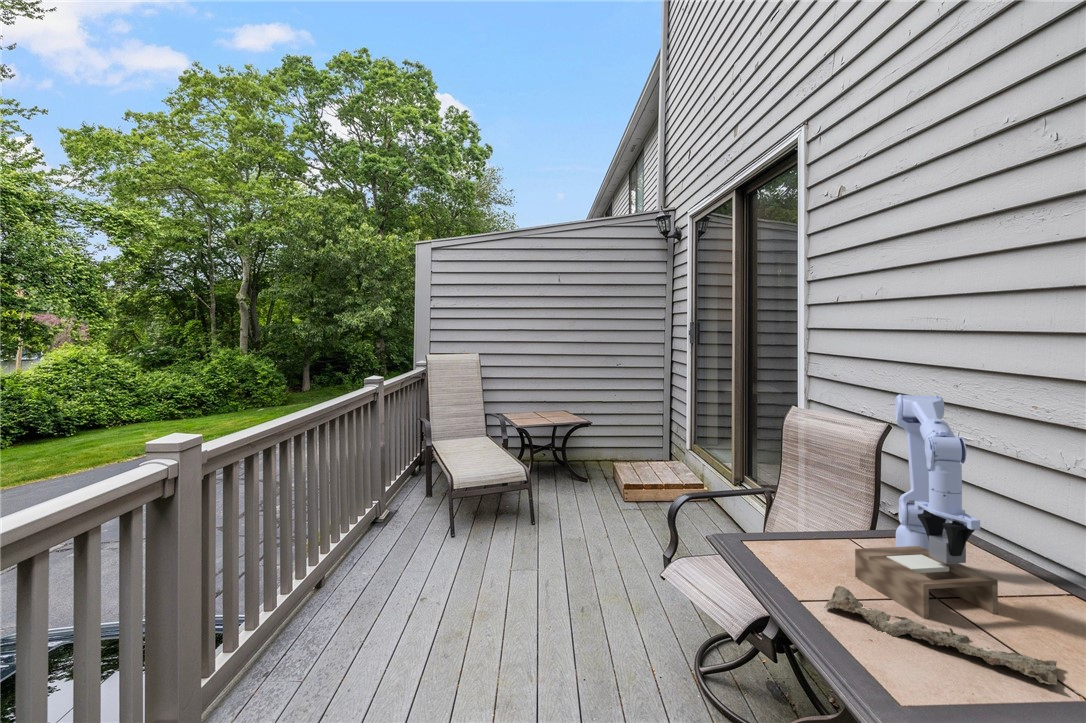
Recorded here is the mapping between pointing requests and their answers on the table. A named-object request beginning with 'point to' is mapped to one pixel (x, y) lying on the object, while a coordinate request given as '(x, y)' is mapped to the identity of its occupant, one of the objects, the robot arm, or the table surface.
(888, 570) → the box
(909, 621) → the tree branch
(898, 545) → the robot arm
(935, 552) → the granite block
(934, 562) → the trapdoor
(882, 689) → the table surface
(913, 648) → the table surface
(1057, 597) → the table surface
